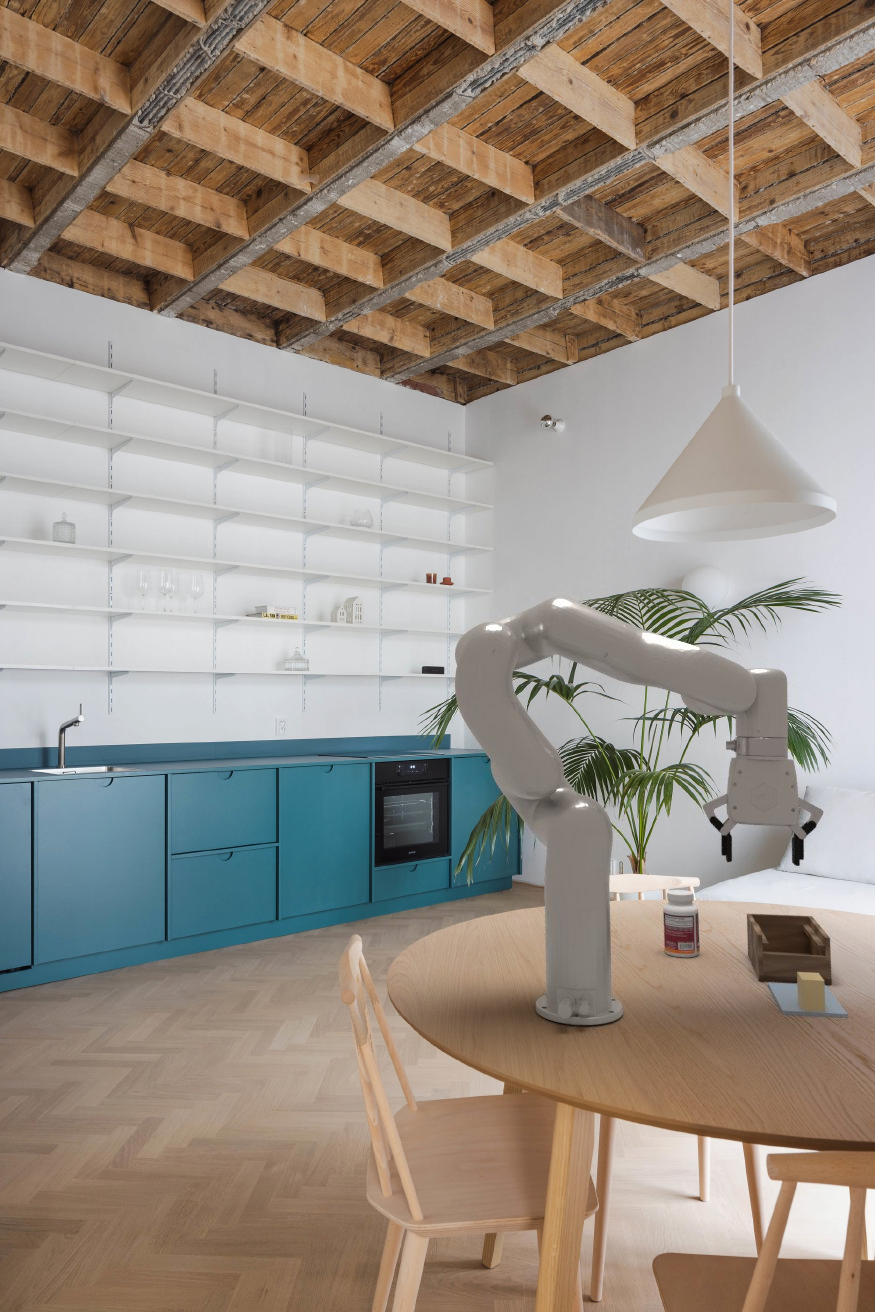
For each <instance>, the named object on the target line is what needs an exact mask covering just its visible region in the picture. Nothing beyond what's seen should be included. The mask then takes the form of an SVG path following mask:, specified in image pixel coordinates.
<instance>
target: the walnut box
mask: <svg viewBox="0 0 875 1312" xmlns="http://www.w3.org/2000/svg"><path fill="white" fill-rule="evenodd" d="M746 925H747V926H746V929H747V932H746V934H747V956H748V959H749V961H750V963H751V965H752V968H753V970H754V972H755V976H756V977H757V980H758V982H762V983H763V982H767V983H768V982H770V983H790V984H797V972H809V973H819V974H820V976H821V977H822V978H823V980H824V984H825V985H826V986H832V984H833V983H832V981H833V979H832V957H831V956H832V955H831V953H832V951H831V938H830V936H829V935H828V934H827V933H826V931H825V930H824V929H823V927H822V926H821V925H820V924H819V923H818V921H817V920H816V919H815V918H814V917H813V916H812V915H798V914H797V915H796V914H795V915H790V914H769V913H768V914H767V913H766V914H764V913H746Z"/></svg>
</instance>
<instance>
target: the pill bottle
mask: <svg viewBox="0 0 875 1312" xmlns="http://www.w3.org/2000/svg"><path fill="white" fill-rule="evenodd" d="M694 896H695V895H694V892H693V891H690V890H683V889H670V890H668V891H666V899H667V901H668V902H667V903H666V904H664V905H663V911H662V912H663V939H664V941H663V942H664V943H663V944H664V951H665V953H666V954H667V955H668V956H671V957H676V958H685V959H686V958H695V957H697V956H698V955H699V954H700V945H701V944H700V926H699V925H700V923H699V919H700V918H699V908H698V907H697V905H696V904H694V903H693V902H694Z"/></svg>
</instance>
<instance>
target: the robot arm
mask: <svg viewBox="0 0 875 1312" xmlns="http://www.w3.org/2000/svg"><path fill="white" fill-rule="evenodd" d="M555 655H558V656H560V657H562V658H565V659H567V660H568V661H572V662H574V663H577V664H580V665H582V666H584V667H587V668H590V669H591V670H594V671H596V672H598V673H600V674H603V675H605V676H607V677H609V678H612V679H614V680H617V681H620V682H623V683H626V684H630V685H635V686H644V687H651V688H657V689H662V690H665V691H669V692H672V693H675V694H678V695H680V698H681V700H682V702H683V703H684V706H685V707H687V708H688V710H690V711H692V712H693V713H695V714H697V715H698V714H699V715H701V716H735V737H734V739H733V740H725V750H727V751H728V750H730V751H733V752H734V753H735V757H731V758H730V763H729V768H728V777H727V788H726V793H725V794H723V795H721V796H719V797H716V798H715V799H712V800H710V801H708V802H705V803H703V804H702V809H703V811H704V813H705V815H706V817H707V819H708V821H709V823H710V824H711V825H712V826H713V827H714V828H715V829H716V830H717V832H719V833H720V834H721V835H720V836H721V837H720V838H721V839H720V840H721V843H720V845H721V846H720V848H721V849H720V850H721V856H722V857H723V856H725V860H726V863H731V862H732V861H733V836H732V834H731V831H732V830H733V829H734V828H735V827H736V825H750V826H752V825H753V826H769V827H770V826H771V827H789V829H790V830H791V831H792V832H793V836H792V837H791V862H792V864H793V865H794V866H795V867H796V866H797V867H800V866H801V861H804V859H805V856H804V855H805V839H806V838H807V836H809V835H810V833H812V832H813V831H814V830H815V829H816V828H817V825H818V823H819V822H820V820H821V819H822V816H823V815H824V810H823V809H822V808H819V807H818V806H816V805H814V804H813V803H810V802H808V800H807V801H806V800H804V799H803V798H801V797H799V789H798V788H799V787H798V778H797V777H798V776H797V771H796V770H797V769H796V766H795V761H794V759H793V758H792V759H790V758H789V748H788V746H789V738H788V737H789V734H788V732H789V731H788V726H789V723H788V718H789V717H788V676H787V675H786V673H785V672H784V671H783V670H780V669H777V668H745V666H743V665H741V664H739V663H737V662H735V661H732V660H730V659H728V658H726V657H724V656H721V655H719V654H717V653H714V652H712V651H710V650H707V649H705V648H703V647H702V648H701V647H698V646H696V645H693V644H690V643H687V642H684V641H681V640H679V639H678V640H677V639H674V638H671V637H668V636H665V635H662V634H660V633H656V632H653V631H648V630H645V629H643V628H640V627H638V626H635V625H633V624H630V623H628V622H625V621H624V620H623V621H622V620H621V619H618V618H616V617H613V616H611V615H609V614H607V613H605V612H603V611H600V610H598V609H596V608H593V607H591V606H588V605H586V604H584V603H582V602H579V601H577V600H574V599H571V598H568V597H563V596H562V597H561V596H556V597H551V598H548V599H546V600H544V601H542V602H540V603H538V604H536V605H534V606H531V607H530V608H528V609H525V610H523V611H521V612H518V613H516V614H513V615H510V616H508V617H505V618H502V619H499V620H497V621H486V622H481V623H479V624H477V625H476V626H475V625H474V627H472V628H471V629H469V630H468V631H466V632H465V633H464V634H463V635H462V636H460V638H459V640H458V641H457V643H456V646H455V651H454V659H455V663H456V669H455V677H454V691H455V693H454V694H455V699H456V704H457V707H458V710H459V713H460V715H461V717H462V719H463V721H464V723H465V724H466V727H468V729H469V731H470V732H471V733H472V736H473V737H474V738H475V740H476V741H477V742H478V744H479V746H480V747H481V749H482V750H483V752H484V753H485V754H486V756H487V757H488V759H489V760H490V771H491V776H492V777H493V779H494V782H495V784H496V786H497V787H498V789H499V790H500V792H501V793H502V794H503V796H504V797H505V798H506V799H507V801H508V802H509V803H510V805H511V806H512V807H513V808H514V810H515V812H516V813H517V814H518V815H519V817H520V818H521V820H522V821H523V822H524V824H525V825H526V827H528V828H529V830H530V832H532V834H533V835H534V836H535V837H536V839H537V840H538V841H539V842H540V843H541V844H542V845H544V846H545V847H546V859H545V866H544V867H545V868H544V884H543V885H544V886H543V887H544V888H543V889H544V890H543V891H544V892H543V893H544V894H543V895H544V900H543V901H544V923H545V924H544V925H545V926H544V930H545V931H544V932H545V933H544V934H545V935H544V936H545V937H544V938H545V940H544V941H545V990H546V991H545V993H546V994H544V995H541V996H540V997H539V998H537V999H536V1000H535V1001H536V1002H535V1011H536V1013H537V1014H538V1015H539V1016H540V1017H542V1018H544V1019H547V1020H549V1021H551V1022H556V1023H560V1024H565V1025H573V1026H595V1025H598V1026H599V1025H603V1024H609V1023H611V1022H615V1021H617V1020H618V1019H620V1018H621V1017H622V1016H623V1013H624V1009H623V1007H624V1006H623V1004H622V1003H621V1001H620V1000H618V999H617V998H615V997H613V996H612V993H613V991H612V954H611V953H612V946H611V944H612V943H611V940H612V939H611V904H610V897H611V896H610V872H611V871H610V870H611V861H612V852H613V851H612V850H613V840H614V839H613V838H614V837H613V836H614V835H613V833H614V831H613V827H612V826H613V825H612V822H611V818H610V816H609V814H608V812H607V811H606V809H605V807H603V806H602V805H601V803H600V802H598V801H597V800H595V799H593V798H592V797H591V796H588V795H585V794H581V793H579V792H577V791H576V790H575V789H574V788H573V787H572V785H571V784H570V782H569V781H568V779H567V778H566V777H565V775H564V773H565V769H564V768H565V767H564V763H563V759H562V758H561V756H560V753H559V752H558V750H557V749H556V748H555V747H554V746H553V744H552V743H551V742H550V741H549V740H548V738H547V737H546V736H545V735H544V733H543V732H542V731H541V730H540V728H539V727H538V725H537V724H536V723H535V722H534V720H533V719H532V717H531V716H530V715H529V714H528V712H527V710H526V709H525V707H524V705H522V702H521V701H520V700H519V697H518V696H517V693H516V692H515V689H514V684H513V672H515V671H517V670H520V669H522V668H526V667H528V666H531V665H533V664H535V663H538V662H540V661H543V660H546V659H548V658H550V657H552V656H555ZM724 805H726V814H727V818H726V820H724V822H722V821H721V820H720V819H719V818H718V817H717V816H716V813H715V810H716V809H718V808H720V807H722V806H724ZM800 808H801V809H802V810H805V811H806V812H809V814H810V816H809V818H808V819H807V821H805V823H804V824H802V825H800V824H798V822H799V819H800Z"/></svg>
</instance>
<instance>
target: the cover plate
mask: <svg viewBox="0 0 875 1312" xmlns="http://www.w3.org/2000/svg"><path fill="white" fill-rule="evenodd" d="M767 988H768V989H769V991H770V993H771V995H772V997H773V999H774V1000H775V1002H776V1004H777V1006H778V1008H779V1010H780V1012H781V1014H782V1015H790V1016H791V1015H792V1016H806V1017H810V1016H811V1017H828V1018H846V1019H848V1013H847V1011H846V1010H845V1009H844V1007H843V1006H842V1005H841V1003H840V1002H839V1000H838V999H837V997H835V995H834V994H833V992H832V991H831V990H830V989H829V987H828V985H825V984H824V980H823V978H822V977H821V976H820V974H819V973H809V972H797V983H782V982H767Z"/></svg>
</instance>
